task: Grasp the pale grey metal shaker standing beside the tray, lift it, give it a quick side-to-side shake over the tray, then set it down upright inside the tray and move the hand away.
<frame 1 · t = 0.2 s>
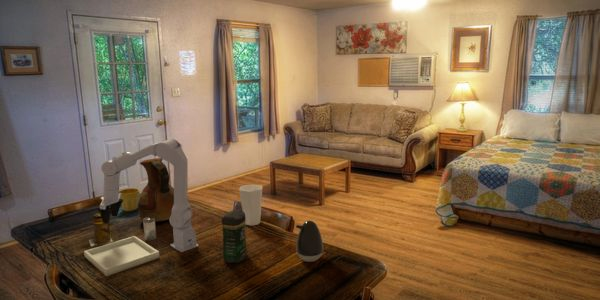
hand: (110, 219, 173), 11 cm above the table, tool pointing down, fingers open, 7 cm apart
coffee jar: (235, 258, 160), on the table
shaker: (150, 238, 179), on the table
pump dispenser: (309, 259, 158), on the table
tray: (121, 257, 162), on the table
condiment: (100, 241, 177), on the table
ceramic pitcher: (161, 219, 201), on the table
cup: (252, 223, 195), on the table
plant pot: (130, 209, 217), on the table
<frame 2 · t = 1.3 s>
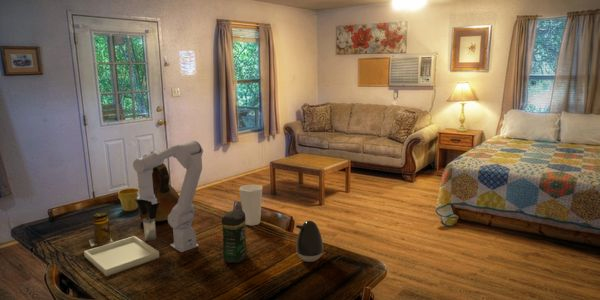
hand: (148, 216, 177), 10 cm above the table, tool pointing down, fingers open, 7 cm apart
nothing on the table moved.
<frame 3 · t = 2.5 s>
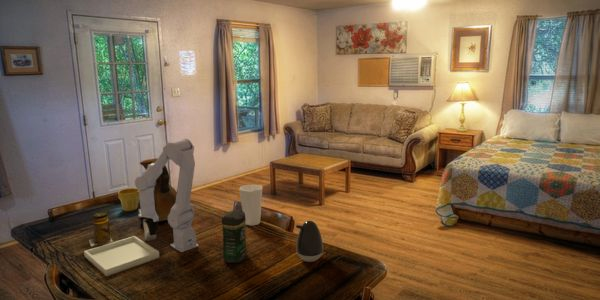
hand: (150, 233, 179), 2 cm above the table, tool pointing down, fingers closed on shaker, 5 cm apart
shaker: (150, 238, 179), on the table, touching gripper
everything else where it was.
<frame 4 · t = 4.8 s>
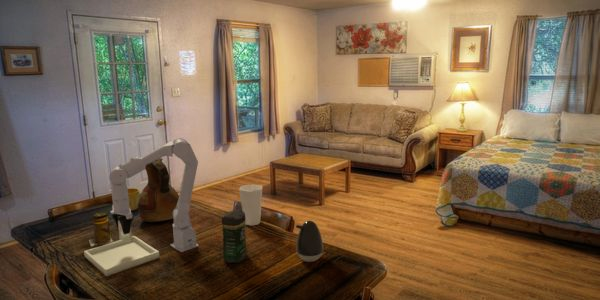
hand: (124, 231, 163), 9 cm above the table, tool pointing down, fingers closed on shaker, 5 cm apart
shaker: (125, 237, 163), point 7 cm above the table, touching gripper
everything else where it was.
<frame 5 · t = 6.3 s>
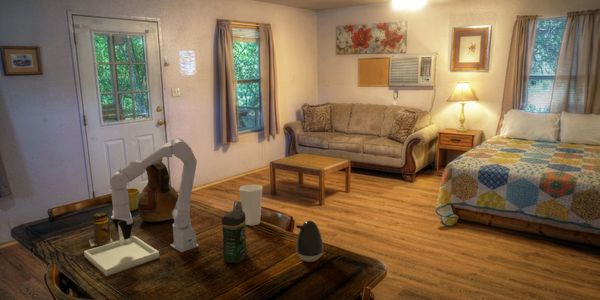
hand: (124, 236, 161), 8 cm above the table, tool pointing down, fingers closed on shaker, 5 cm apart
shaker: (125, 243, 162), point 5 cm above the table, touching gripper
everything else where it was.
when the fingers open (4 cm above the table, at t = 7.4 s): shaker stays where it is, resting on tray.
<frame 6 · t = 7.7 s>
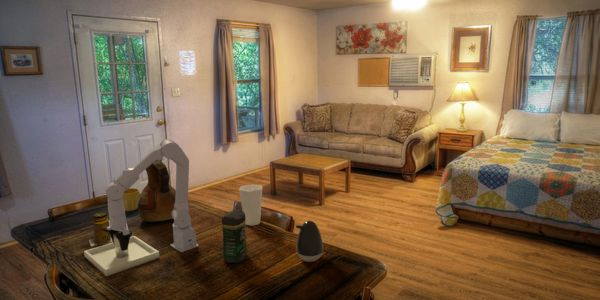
hand: (120, 247, 161), 4 cm above the table, tool pointing down, fingers open, 7 cm apart
shaker: (122, 255, 162), point 1 cm above the table, touching tray
everything else where it was.
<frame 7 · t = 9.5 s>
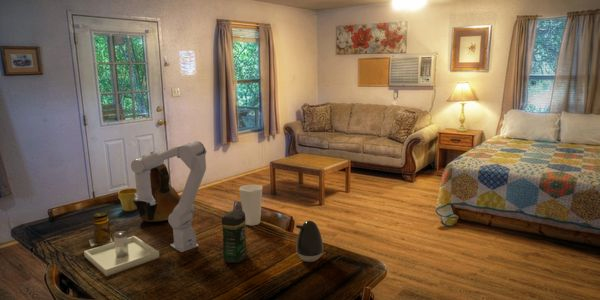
hand: (146, 217, 175), 10 cm above the table, tool pointing down, fingers open, 7 cm apart
nothing on the table moved.
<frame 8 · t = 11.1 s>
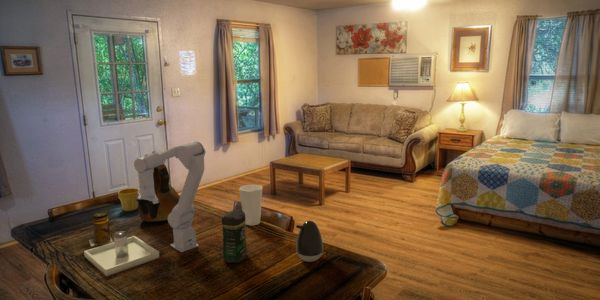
hand: (149, 216, 176), 10 cm above the table, tool pointing down, fingers open, 7 cm apart
nothing on the table moved.
at the end: shaker inside the target area on the tray (0.3 cm from its centre), point 0.8 cm above the tray's base; shaker tilted 0°; the gripper is holding nothing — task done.
